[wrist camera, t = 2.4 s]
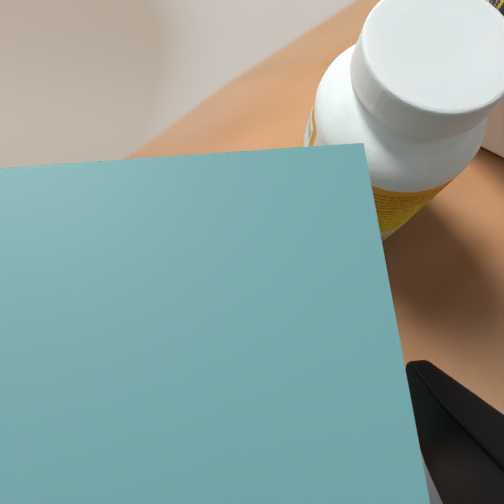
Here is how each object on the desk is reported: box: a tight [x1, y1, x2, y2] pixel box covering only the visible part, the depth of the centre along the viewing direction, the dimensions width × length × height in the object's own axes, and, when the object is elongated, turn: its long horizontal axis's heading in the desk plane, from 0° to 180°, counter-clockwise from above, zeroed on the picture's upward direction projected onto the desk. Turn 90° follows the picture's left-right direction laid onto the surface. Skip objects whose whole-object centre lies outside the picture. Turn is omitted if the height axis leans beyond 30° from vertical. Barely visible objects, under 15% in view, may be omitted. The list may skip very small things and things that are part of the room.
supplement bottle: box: [301, 0, 504, 241], centre depth 15 cm, size 5×5×10 cm
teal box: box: [0, 143, 430, 504], centre depth 11 cm, size 5×5×14 cm
